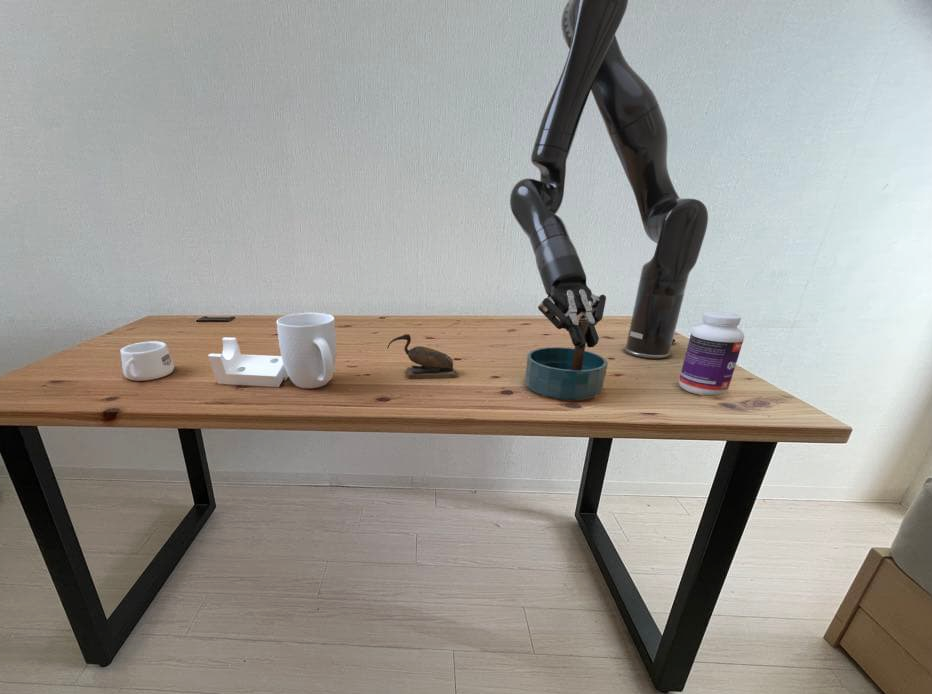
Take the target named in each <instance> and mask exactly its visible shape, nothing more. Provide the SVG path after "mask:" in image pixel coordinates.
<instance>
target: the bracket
mask: <svg viewBox="0 0 932 694" xmlns="http://www.w3.org/2000/svg"><path fill="white" fill-rule="evenodd" d="M221 341H222V351H221V353H208V355H207V358H208V361H209V363H210V366H211V369H212V372H213V374H214V377H215V380H216V382H217V384H218V385H234V386H251V387H252V386H253V387H268V388H269V387H270V388H280V386H281V384H282V382H283V381H287V379H288V378H289V376H288V374H287V371H286V369H285V367H284V364H283V361H282V357H281V355H263V354H243V353H241V349H240V346H239V344H238V340H237V337H230V336H229V337H227V336H224V337H222V338H221Z"/></svg>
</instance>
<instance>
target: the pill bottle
mask: <svg viewBox="0 0 932 694" xmlns="http://www.w3.org/2000/svg"><path fill="white" fill-rule="evenodd" d="M741 319H742V316H741V315H740V314H737V313H732V312H726V311H715V310H714V311H705V312H704V313H703V316H702V323H701V324H698V325H695V326H693V328H692V330H691V332H690V335H689V339H688V343H687V347H686V351H685V355H684V358H683V363H682V365H681V370H680V374H679V378H678V380H677V381H678V385H679V387H680V388H681V389H682V390H684V391H686V392H688V393H691V394H695V395H699V396H705V397H719V396H723V395H724V394H727V392H728V391H729V388H730V387H731V386H730V385H731V382H732V378H733V375H734V372H735V369H736V365H737V363H738V359H739V356H740V353H741V350H742V346H743V343H744V339H745V333H744V332H743V331H742V330H741V329H740V328H739V327H738V326H739V325H740V323H741Z"/></svg>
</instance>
